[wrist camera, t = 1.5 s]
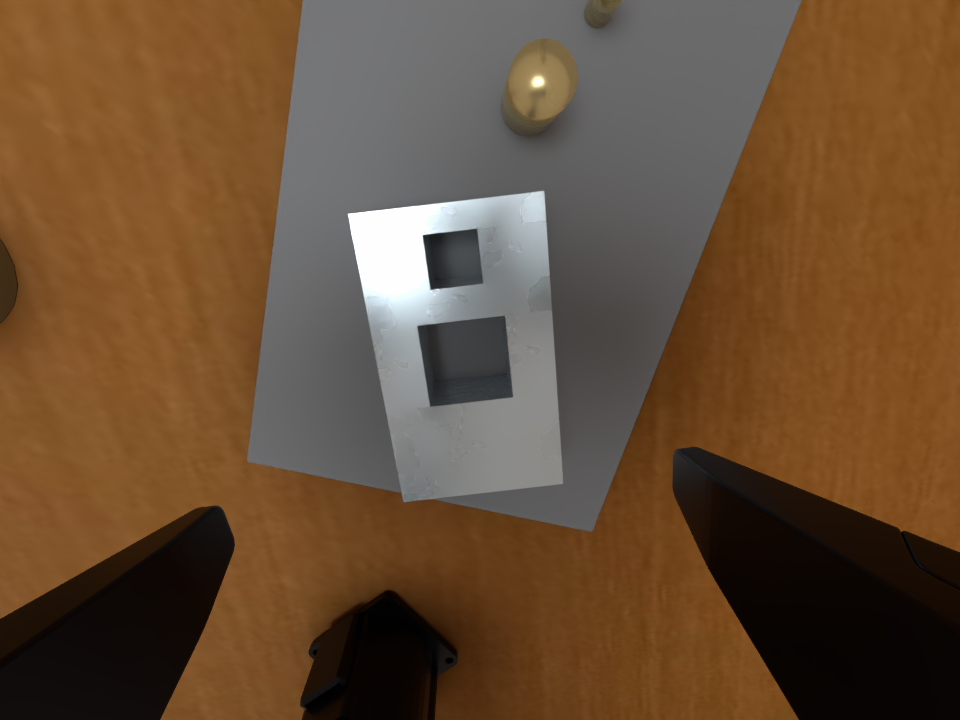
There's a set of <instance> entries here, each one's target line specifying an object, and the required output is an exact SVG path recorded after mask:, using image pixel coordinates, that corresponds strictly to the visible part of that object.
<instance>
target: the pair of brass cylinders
mask: <svg viewBox="0 0 960 720" xmlns="http://www.w3.org/2000/svg"><path fill="white" fill-rule="evenodd" d="M622 1H623V0H589V1H588V3H587V5H586V7H585V10H584V18H585V21H586V23H587V24H588V25H589V26H590V27H592V28H601V27H603V26H604V25H605V24H606V23H607V22H608V21H609V19H610V18H611V16H612V15H613V14H614V12H615V11H616V9H617V8H618V7H619V5H620V4H621V2H622ZM577 81H578V73H577V67H576V63H575V60H574V58H573V56H572V54H571V53H570V51H569V50H568V49H567V48H566V47H565V46H564V45H562V44H561V43H559V42H557V41H555V40H551V39H538V40H534V41H532V42H530V43H528V44H526V45H525V46H524V47H523V48H522V49H521V50H520V51H519V52H518V53H517V55H516V56H515V58H514V60H513V62H512V65H511V68H510V71H509V75H508V78H507V81H506V85H505V88H504V92H503V95H502V99H501V113H502V117H503V119H504V122H505V123H506V125H507V126H508V128H509V129H510V130H512V131H513V132H514V133H516V134H518V135H521V136H527V137H528V136H535V135H538V134H540V133H541V132H543V131H544V130H545V129H546V128H547V127H548V126H549V125H550V124H551V123H552V122H553V121H554V120H555V118H556V117H557V116H558V115H559V114H560V113H561V112H562V111H563V109H564V108H565V107H566V106H567V105H568V104H569V102H570V101H571V99H572V98H573V96H574V93H575V91H576V87H577Z"/></svg>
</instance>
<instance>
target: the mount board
mask: <svg viewBox="0 0 960 720" xmlns="http://www.w3.org/2000/svg"><path fill="white" fill-rule="evenodd" d="M588 1H589V0H303V4H302V12H301V20H300V29H299V37H298V45H297V53H296V62H295V70H294V78H293V86H292V94H291V103H290V111H289V119H288V127H287V136H286V144H285V152H284V160H283V169H282V177H281V185H280V193H279V202H278V210H277V218H276V226H275V235H274V243H273V251H272V259H271V267H270V276H269V284H268V292H267V300H266V309H265V317H264V325H263V333H262V342H261V350H260V358H259V366H258V375H257V383H256V391H255V399H254V407H253V416H252V424H251V432H250V440H249V449H248V457H247V462H252V463H257V464H262V465H266V466H271V467H276V468H281V469H286V470H291V471H296V472H301V473H306V474H310V475H315V476H320V477H325V478H330V479H335V480H340V481H345V482H350V483H355V484H359V485H364V486H369V487H374V488H379V489H384V490H389V491H394V492H399V493H402V492H401V487H400V482H399V477H398V472H397V466H396V461H395V456H394V451H393V446H392V440H391V435H390V430H389V425H388V419H387V414H386V409H385V404H384V399H383V393H382V388H381V383H380V378H379V372H378V367H377V362H376V357H375V352H374V346H373V341H372V336H371V331H370V326H369V320H368V315H367V310H366V305H365V299H364V294H363V289H362V284H361V279H360V273H359V268H358V263H357V258H356V252H355V247H354V242H353V237H352V232H351V226H350V221H349V216H348V214H354V213H363V212H371V211H379V210H388V209H396V208H405V207H413V206H422V205H430V204H439V203H447V202H455V201H464V200H472V199H481V198H489V197H498V196H506V195H514V194H523V193H531V192H540V191H544V195H545V211H546V226H547V241H548V257H549V272H550V288H551V303H552V318H553V334H554V349H555V364H556V380H557V395H558V410H559V426H560V441H561V457H562V472H563V484H558V485H549V486H540V487H532V488H523V489H514V490H505V491H497V492H488V493H479V494H470V495H462V496H453V497H444V498H435V499H433V500H438V501H443V502H448V503H452V504H457V505H462V506H467V507H472V508H477V509H482V510H487V511H492V512H496V513H501V514H506V515H511V516H516V517H521V518H526V519H531V520H536V521H540V522H545V523H550V524H555V525H560V526H565V527H570V528H575V529H580V530H585V531H589V532H592V531H593V528H594V526H595V523H596V521H597V518H598V516H599V513H600V510H601V508H602V505H603V503H604V500H605V498H606V495H607V493H608V490H609V488H610V485H611V483H612V480H613V478H614V475H615V472H616V470H617V467H618V465H619V462H620V460H621V457H622V455H623V452H624V450H625V447H626V445H627V442H628V439H629V437H630V434H631V432H632V429H633V427H634V424H635V422H636V419H637V417H638V414H639V412H640V409H641V406H642V404H643V401H644V399H645V396H646V394H647V391H648V389H649V386H650V384H651V381H652V379H653V376H654V373H655V371H656V368H657V366H658V363H659V361H660V358H661V356H662V353H663V351H664V348H665V346H666V343H667V340H668V338H669V335H670V333H671V330H672V328H673V325H674V323H675V320H676V318H677V315H678V313H679V310H680V307H681V305H682V302H683V300H684V297H685V295H686V292H687V290H688V287H689V285H690V282H691V280H692V277H693V274H694V272H695V269H696V267H697V264H698V262H699V259H700V257H701V254H702V252H703V249H704V247H705V244H706V241H707V239H708V236H709V234H710V231H711V229H712V226H713V224H714V221H715V219H716V216H717V214H718V211H719V209H720V206H721V203H722V201H723V198H724V196H725V193H726V191H727V188H728V186H729V183H730V181H731V178H732V176H733V173H734V170H735V168H736V165H737V163H738V160H739V158H740V155H741V153H742V150H743V148H744V145H745V143H746V140H747V137H748V135H749V132H750V130H751V127H752V125H753V122H754V120H755V117H756V115H757V112H758V110H759V107H760V104H761V102H762V99H763V97H764V94H765V92H766V89H767V87H768V84H769V82H770V79H771V77H772V74H773V71H774V69H775V66H776V64H777V61H778V59H779V56H780V54H781V51H782V49H783V46H784V44H785V41H786V38H787V36H788V33H789V31H790V28H791V26H792V23H793V21H794V18H795V16H796V13H797V11H798V8H799V5H800V3H801V0H623V1H622V2H621V4H620V5H619V7H618V8H617V9H616V11H615V12H614V14H613V15H612V16H611V18H610V19H609V21H608V22H607V23H606V24H605V25H604V26H603V27H601V28H592V27H590V26H589V25H588V24H587V23H586V21H585V18H584V10H585V7H586V5H587V3H588ZM538 39H551V40H555V41H557V42H559V43H561V44H562V45H564V46H565V47H566V48H567V49H568V50H569V51H570V53H571V54H572V56H573V58H574V60H575V63H576V67H577V73H578V81H577V87H576V91H575V93H574V96H573V98H572V99H571V101H570V102H569V104H568V105H567V106H566V107H565V108H564V109H563V111H562V112H561V113H560V114H559V115H558V116H557V117H556V118H555V120H554V121H553V122H552V123H551V124H550V125H549V126H548V127H547V128H546V129H545V130H544V131H543V132H541V133H540V134H538V135H535V136H528V137H527V136H521V135H518V134H516V133H514V132H513V131H512V130H510V129H509V128H508V126H507V125H506V123H505V122H504V119H503V117H502V113H501V99H502V95H503V92H504V88H505V85H506V81H507V78H508V75H509V71H510V68H511V65H512V62H513V60H514V58H515V56H516V55H517V53H518V52H519V51H520V50H521V49H522V48H523V47H524V46H525V45H526V44H528V43H530V42H532V41H534V40H538ZM429 237H430V244H431V251H432V258H433V265H434V272H435V279H436V280H437V279H445V278H454V277H462V276H471V275H479V274H481V271H480V262H479V253H478V244H477V235H476V229H469V230H460V231H452V232H443V233H435V234H429ZM426 326H427V333H428V339H429V346H430V352H431V359H432V365H433V372H434V378H435V381H443V380H452V379H461V378H469V377H478V376H487V375H495V374H504V373H507V370H506V360H505V350H504V340H503V330H502V320H501V316H497V317H488V318H480V319H471V320H463V321H454V322H446V323H437V324H428V325H426Z"/></svg>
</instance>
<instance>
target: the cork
mask: <svg viewBox="0 0 960 720" xmlns="http://www.w3.org/2000/svg"><path fill="white" fill-rule="evenodd" d="M17 287H18V285H17V280H16V274H15V268H14V264H13V262H12V260H11V258H10V256H9V254H8V252H7V250H6V248H5V246H4V244H3V243H2V241H1V240H0V322H2V321H3V320H5V318H6V317H7V315H8V314H9V312H10V311H11V309H12V308H13V306H14V304H15V298H16V293H17Z"/></svg>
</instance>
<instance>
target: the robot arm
mask: <svg viewBox="0 0 960 720" xmlns="http://www.w3.org/2000/svg"><path fill="white" fill-rule="evenodd" d="M673 492H674V496H675V498H676V501H677V503H678V505H679V507H680V509H681V511H682V514H683V516H684V518H685V520H686V522H687V524H688V526H689V529H690V531H691V533H692V535H693V537H694V539H695V542H696V544H697V546H698V548H699V550H700V552H701V555H702V557H703V559H704V561H705V563H706V565H707V567H708V569H709V571H710V572H711V574H712V576H713V578H714V579H715V581H716V583H717V584H718V586H719V588H720V589H721V591H722V593H723V594H724V596H725V598H726V599H727V601H728V603H729V604H730V606H731V608H732V609H733V611H734V613H735V614H736V616H737V618H738V619H739V621H740V623H741V624H742V626H743V628H744V629H745V631H746V633H747V634H748V636H749V638H750V639H751V641H752V643H753V644H754V646H755V648H756V649H757V651H758V653H759V654H760V656H761V658H762V659H763V661H764V662H765V664H766V666H767V667H768V669H769V671H770V672H771V674H772V676H773V677H774V679H775V681H776V682H777V684H778V686H779V687H780V689H781V691H782V692H783V694H784V696H785V697H786V699H787V701H788V702H789V704H790V706H791V707H792V709H793V711H794V712H795V714H796V716H797V717H798V719H799V720H960V552H957V551H955V550H952V549H950V548H947V547H945V546H942V545H939V544H937V543H934V542H932V541H929V540H927V539H924V538H922V537H919V536H917V535H915V534H912V533H910V532H907V531H902V532H901V531H900V530H899V529H898V528H897V527H894V526H892V525H889V524H887V523H884V522H882V521H880V520H877V519H875V518H872V517H870V516H867V515H865V514H862V513H860V512H857V511H855V510H852V509H850V508H847V507H845V506H842V505H840V504H837V503H835V502H832V501H830V500H827V499H825V498H822V497H820V496H817V495H815V494H812V493H810V492H807V491H805V490H802V489H800V488H797V487H795V486H792V485H790V484H788V483H785V482H783V481H780V480H778V479H775V478H773V477H770V476H768V475H765V474H763V473H760V472H758V471H755V470H753V469H750V468H748V467H745V466H743V465H740V464H738V463H735V462H733V461H730V460H728V459H725V458H723V457H720V456H718V455H715V454H713V453H710V452H708V451H706V450H703V449H701V448H698V447H690V448H682V449H677V450H676V451H675V452H674V455H673ZM234 546H235V542H234V537H233V534H232V531H231V529H230V526H229V524H228V521H227V518H226V516H225V513H224V511H223V509H222V508H221V507H219V506H208V507H199V508H196V509H194V510H192V511H191V512H189V513H187V514H185V515H183V516H182V517H180V518H178V519H176V520H175V521H173V522H171V523H169V524H168V525H166V526H164V527H162V528H160V529H159V530H157V531H155V532H153V533H152V534H150V535H148V536H146V537H145V538H143V539H141V540H139V541H137V542H136V543H134V544H132V545H130V546H129V547H127V548H125V549H123V550H122V551H120V552H118V553H116V554H114V555H113V556H111V557H109V558H107V559H106V560H104V561H102V562H100V563H98V564H97V565H95V566H93V567H91V568H90V569H88V570H86V571H84V572H83V573H81V574H79V575H77V576H75V577H74V578H72V579H70V580H68V581H67V582H65V583H63V584H61V585H60V586H58V587H56V588H54V589H52V590H51V591H49V592H47V593H45V594H44V595H42V596H40V597H38V598H37V599H35V600H33V601H31V602H29V603H28V604H26V605H24V606H22V607H21V608H19V609H17V610H15V611H13V612H12V613H10V614H8V615H6V616H5V617H3V618H1V619H0V720H160V719H161V717H162V715H163V713H164V711H165V709H166V706H167V704H168V702H169V700H170V698H171V696H172V694H173V692H174V690H175V688H176V686H177V684H178V682H179V680H180V678H181V676H182V674H183V671H184V669H185V667H186V665H187V663H188V661H189V659H190V657H191V655H192V653H193V651H194V649H195V647H196V645H197V643H198V641H199V638H200V636H201V634H202V632H203V630H204V627H205V625H206V623H207V620H208V618H209V615H210V613H211V610H212V607H213V605H214V602H215V599H216V597H217V594H218V591H219V589H220V586H221V584H222V581H223V578H224V576H225V573H226V570H227V568H228V565H229V562H230V560H231V557H232V554H233V551H234ZM386 601H388V602H390V603H387V602H386ZM309 655H310V656H311V657H312V658H313V659H314V662H313V665H312V668H311V671H310V673H309V676H308V679H307V682H306V685H305V688H304V691H303V694H302V697H301V701H300V706H301V707H302V708H303V709H304V710H305V711H304V714H303V717H302V720H435V705H436V689H437V676H438V675H440V674H442V673H443V672H445V671H446V670H448V669H450V668H451V667H453V666H454V665H455V664H457V661H458V653H457V651H456V650H455V649H454V648H453V647H452V646H451V645H449V644H448V643H447V642H446V641H445V640H444V639H443V638H442V637H441V636H440V635H438V634H437V633H436V632H435V631H434V630H433V629H432V628H431V627H430V626H429V625H428V624H426V623H425V622H424V621H423V620H422V619H421V618H420V617H419V616H418V615H417V614H415V613H414V612H413V611H412V610H411V609H410V608H409V607H408V606H407V605H406V604H405V603H403V602H402V601H401V600H400V599H399V598H398V597H397V596H396V595H394V594H393V593H390V592H387V593H384V594H382V595H380V596H379V597H377V598H376V599H375V600H373V601H372V602H370V603H369V604H367V605H366V606H364V607H363V608H361V609H360V610H359V611H356V612H353V613H352V614H350V615H349V616H347V617H346V618H344V619H343V620H341V621H340V622H338V623H337V624H336V625H334V626H333V627H331V628H330V629H328V630H327V631H325V632H324V633H323V635H322V636H321V637H319V638H318V639H316V640H315V641H313V642H312V644H311V646H310V649H309ZM449 657H450V658H449Z"/></svg>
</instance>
